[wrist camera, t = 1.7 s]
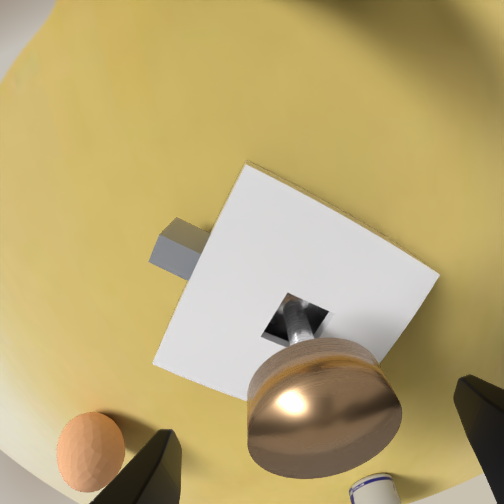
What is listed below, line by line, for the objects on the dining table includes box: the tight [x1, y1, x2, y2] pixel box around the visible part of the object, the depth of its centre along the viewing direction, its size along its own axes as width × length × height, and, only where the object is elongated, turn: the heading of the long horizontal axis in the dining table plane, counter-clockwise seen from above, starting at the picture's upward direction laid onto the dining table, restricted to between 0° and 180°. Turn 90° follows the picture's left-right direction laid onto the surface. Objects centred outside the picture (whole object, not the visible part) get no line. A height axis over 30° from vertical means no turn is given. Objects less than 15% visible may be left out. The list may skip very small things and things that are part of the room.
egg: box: [57, 412, 125, 492], centre depth 20 cm, size 6×6×8 cm
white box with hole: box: [149, 160, 440, 401], centre depth 17 cm, size 12×10×7 cm
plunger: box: [247, 292, 402, 479], centre depth 12 cm, size 5×5×8 cm
